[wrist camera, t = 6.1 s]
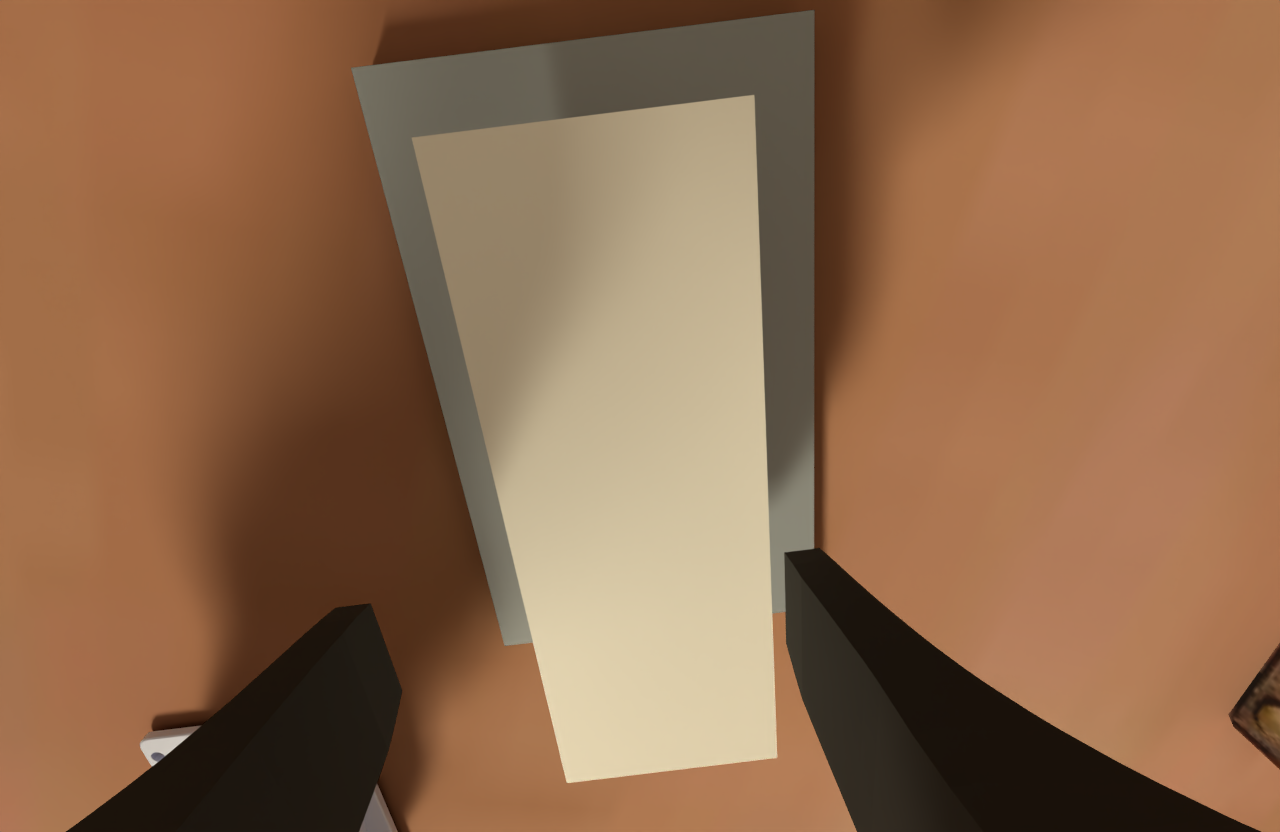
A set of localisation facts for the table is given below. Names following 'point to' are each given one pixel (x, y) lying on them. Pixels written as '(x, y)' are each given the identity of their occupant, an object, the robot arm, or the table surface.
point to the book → (1262, 710)
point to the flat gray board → (596, 84)
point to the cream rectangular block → (623, 417)
